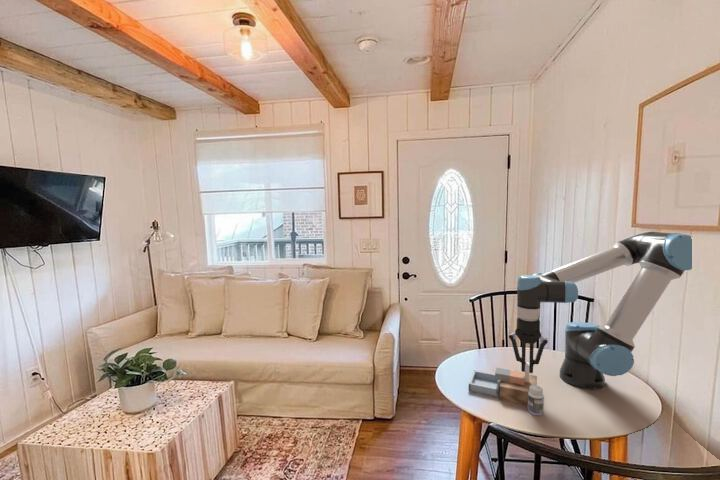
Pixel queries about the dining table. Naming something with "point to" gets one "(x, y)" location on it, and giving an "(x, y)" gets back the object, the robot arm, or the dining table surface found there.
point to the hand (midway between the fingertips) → (527, 380)
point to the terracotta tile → (517, 377)
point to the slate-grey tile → (502, 374)
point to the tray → (484, 384)
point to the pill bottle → (535, 400)
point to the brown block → (516, 391)
